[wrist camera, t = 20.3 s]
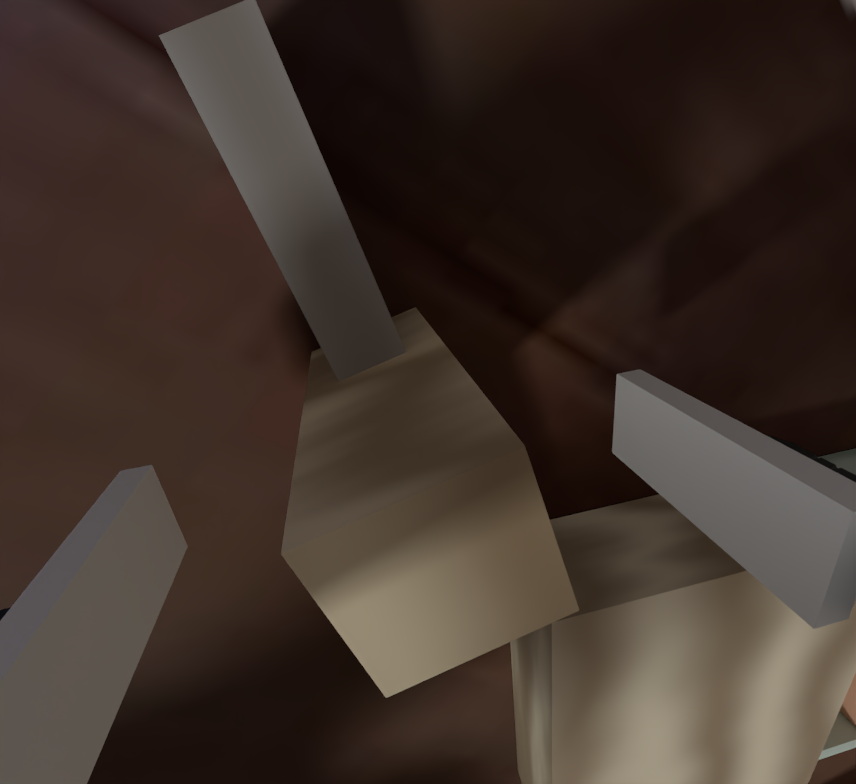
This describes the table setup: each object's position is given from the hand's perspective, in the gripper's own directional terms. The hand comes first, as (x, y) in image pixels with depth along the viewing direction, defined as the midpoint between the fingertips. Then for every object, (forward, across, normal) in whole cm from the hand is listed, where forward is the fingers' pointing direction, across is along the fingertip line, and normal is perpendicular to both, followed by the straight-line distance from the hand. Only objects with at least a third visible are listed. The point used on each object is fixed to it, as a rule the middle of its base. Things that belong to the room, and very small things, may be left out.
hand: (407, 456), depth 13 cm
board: (+5, -12, +18) cm, 22 cm away
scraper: (+5, 0, -1) cm, 5 cm away
